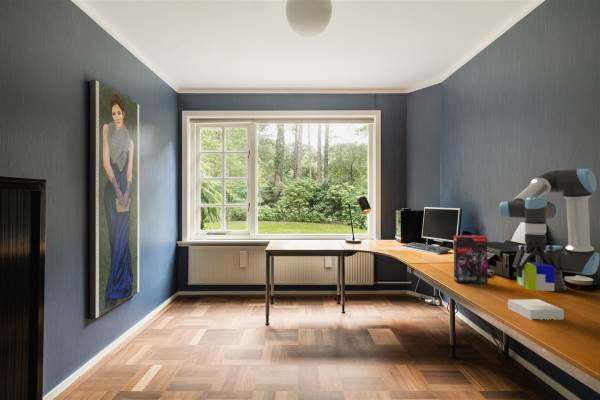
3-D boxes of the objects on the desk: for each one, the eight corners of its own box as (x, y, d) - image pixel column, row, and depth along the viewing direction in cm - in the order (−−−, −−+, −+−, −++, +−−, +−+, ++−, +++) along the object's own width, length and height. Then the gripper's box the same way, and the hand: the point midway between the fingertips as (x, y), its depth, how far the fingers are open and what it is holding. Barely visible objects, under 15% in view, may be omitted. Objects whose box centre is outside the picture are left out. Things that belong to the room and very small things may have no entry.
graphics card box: (456, 283, 196) (456, 236, 196) (452, 280, 203) (453, 234, 203) (488, 284, 194) (488, 236, 194) (483, 281, 201) (483, 235, 201)
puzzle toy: (554, 291, 139) (554, 266, 139) (527, 289, 141) (527, 265, 141) (541, 284, 149) (542, 262, 149) (516, 283, 151) (517, 261, 151)
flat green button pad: (465, 270, 234) (465, 263, 234) (495, 274, 222) (495, 267, 222) (458, 274, 220) (458, 267, 220) (490, 279, 209) (490, 271, 208)
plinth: (538, 308, 153) (538, 299, 153) (563, 319, 139) (563, 309, 139) (508, 308, 152) (508, 299, 152) (530, 319, 138) (530, 310, 138)
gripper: (555, 232, 149) (554, 282, 150) (503, 232, 148) (502, 282, 149) (569, 234, 142) (568, 286, 142) (514, 234, 141) (514, 287, 141)
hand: (534, 284), depth 145 cm, fingers closed on puzzle toy, 11 cm apart
